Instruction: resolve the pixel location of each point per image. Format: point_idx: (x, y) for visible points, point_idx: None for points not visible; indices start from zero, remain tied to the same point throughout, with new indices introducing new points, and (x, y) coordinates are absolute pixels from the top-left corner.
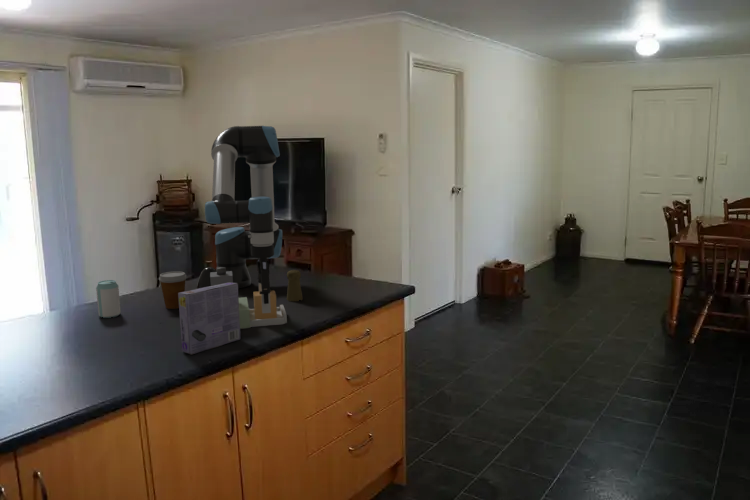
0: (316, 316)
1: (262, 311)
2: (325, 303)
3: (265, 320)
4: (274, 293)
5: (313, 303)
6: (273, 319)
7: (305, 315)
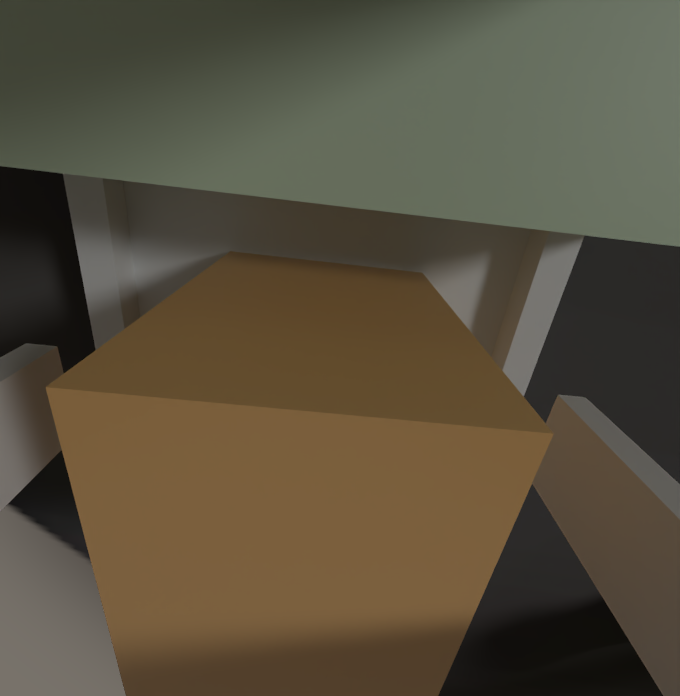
0: None
1: (9, 356)
2: (505, 681)
3: (98, 336)
4: (217, 693)
5: (545, 646)
6: None
7: None
